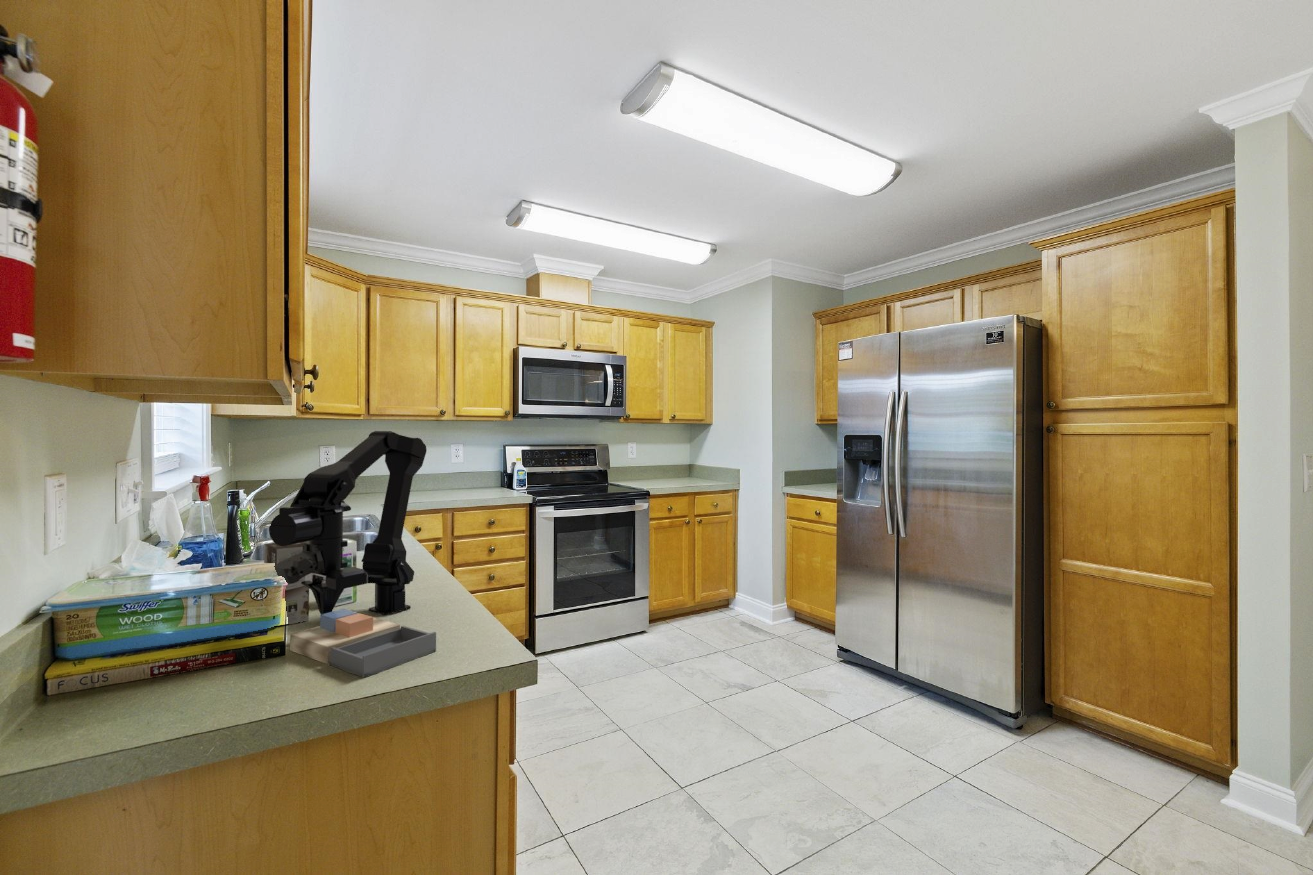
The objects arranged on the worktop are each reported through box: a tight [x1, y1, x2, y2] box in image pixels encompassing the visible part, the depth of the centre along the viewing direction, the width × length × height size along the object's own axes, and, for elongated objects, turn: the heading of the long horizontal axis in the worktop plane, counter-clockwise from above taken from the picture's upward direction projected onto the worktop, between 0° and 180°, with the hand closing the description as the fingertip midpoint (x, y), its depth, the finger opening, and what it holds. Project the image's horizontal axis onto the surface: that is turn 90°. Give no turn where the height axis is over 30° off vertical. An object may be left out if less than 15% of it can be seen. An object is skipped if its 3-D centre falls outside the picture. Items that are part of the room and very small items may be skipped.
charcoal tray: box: [328, 625, 437, 678], centre depth 105 cm, size 10×14×4 cm
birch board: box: [289, 616, 401, 665], centre depth 111 cm, size 12×14×3 cm
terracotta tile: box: [335, 612, 374, 637], centre depth 109 cm, size 4×4×2 cm
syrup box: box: [334, 538, 358, 608], centre depth 138 cm, size 6×6×14 cm
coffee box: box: [263, 542, 310, 625], centre depth 125 cm, size 9×6×16 cm
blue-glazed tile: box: [319, 608, 358, 632], centre depth 112 cm, size 4×4×2 cm
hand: (325, 617), depth 114 cm, fingers closed
